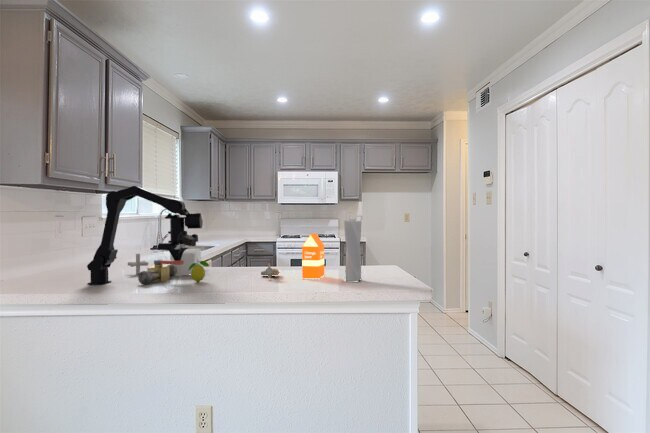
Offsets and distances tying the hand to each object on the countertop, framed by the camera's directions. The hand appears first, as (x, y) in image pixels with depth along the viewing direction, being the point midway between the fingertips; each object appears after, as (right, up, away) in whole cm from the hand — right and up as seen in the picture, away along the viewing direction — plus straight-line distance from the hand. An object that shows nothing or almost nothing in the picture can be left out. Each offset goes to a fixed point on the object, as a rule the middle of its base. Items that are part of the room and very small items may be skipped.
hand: (178, 264), depth 156 cm
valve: (+40, -7, +5) cm, 41 cm away
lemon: (+11, -7, -4) cm, 14 cm away
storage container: (-6, -8, +26) cm, 28 cm away
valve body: (-9, -7, +1) cm, 12 cm away
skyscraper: (+77, -7, -5) cm, 77 cm away
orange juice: (+60, -7, +3) cm, 60 cm away
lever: (-4, 0, -1) cm, 4 cm away
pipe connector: (-29, -8, +21) cm, 37 cm away
